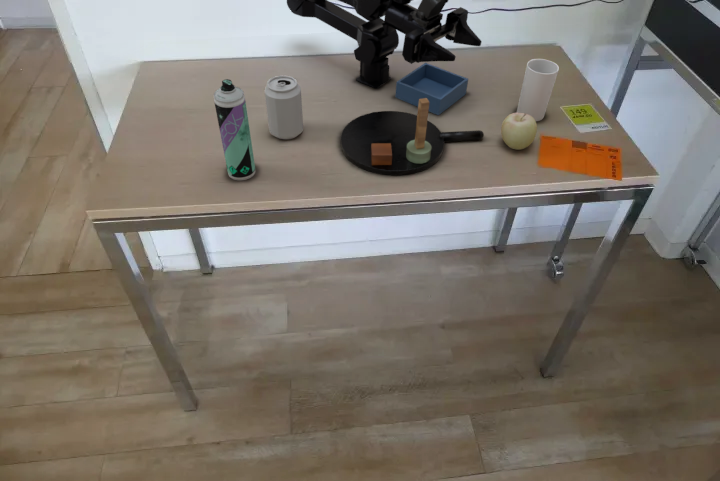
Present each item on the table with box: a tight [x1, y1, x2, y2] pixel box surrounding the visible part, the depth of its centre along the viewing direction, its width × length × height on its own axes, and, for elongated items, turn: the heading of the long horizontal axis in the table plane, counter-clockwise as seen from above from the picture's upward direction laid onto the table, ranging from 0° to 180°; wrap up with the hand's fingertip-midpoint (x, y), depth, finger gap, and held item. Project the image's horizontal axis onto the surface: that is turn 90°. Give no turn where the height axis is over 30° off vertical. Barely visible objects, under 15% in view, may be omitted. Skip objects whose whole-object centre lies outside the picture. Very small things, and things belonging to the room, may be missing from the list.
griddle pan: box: [340, 110, 485, 176], centre depth 120 cm, size 31×22×2 cm
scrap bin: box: [395, 62, 469, 116], centre depth 133 cm, size 12×12×4 cm
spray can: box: [213, 78, 256, 181], centre depth 105 cm, size 6×6×20 cm
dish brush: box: [406, 98, 432, 164], centre depth 111 cm, size 5×5×13 cm
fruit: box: [500, 112, 538, 151], centre depth 118 cm, size 8×7×8 cm
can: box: [264, 74, 304, 140], centre depth 119 cm, size 8×8×12 cm
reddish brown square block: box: [371, 143, 392, 165], centre depth 113 cm, size 4×4×2 cm
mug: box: [516, 58, 560, 122], centre depth 126 cm, size 10×7×12 cm, turn 7°
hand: (468, 51), depth 115 cm, fingers open, 9 cm apart
